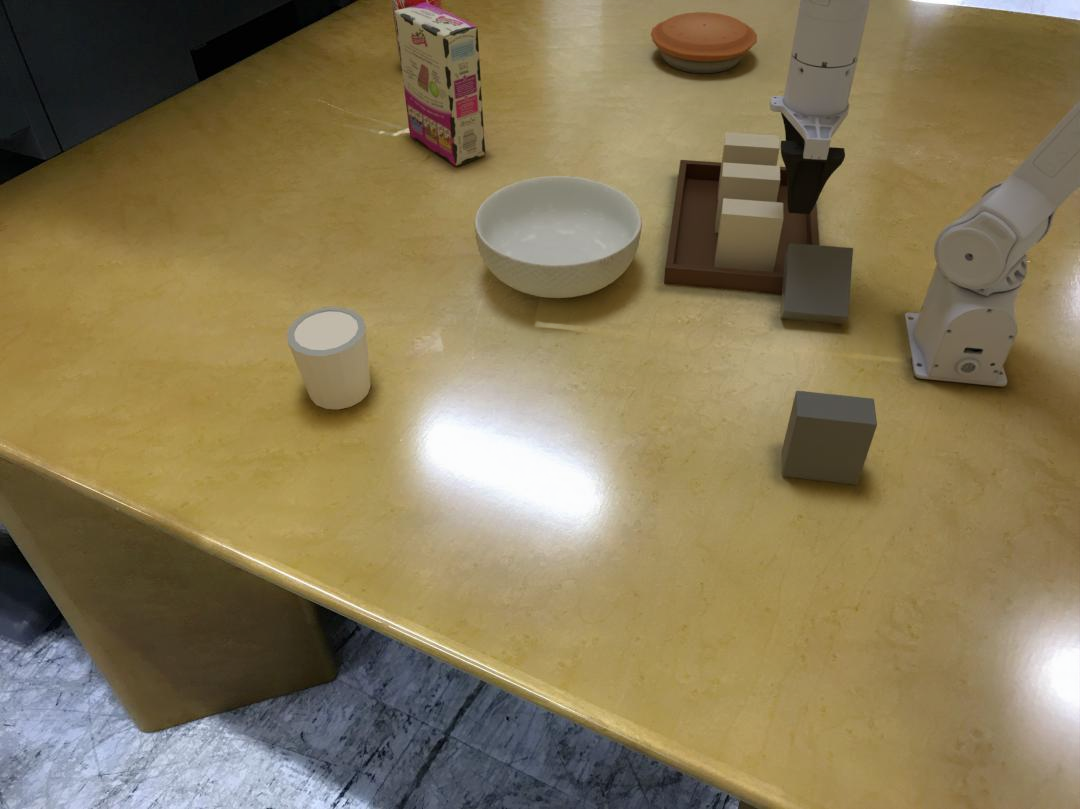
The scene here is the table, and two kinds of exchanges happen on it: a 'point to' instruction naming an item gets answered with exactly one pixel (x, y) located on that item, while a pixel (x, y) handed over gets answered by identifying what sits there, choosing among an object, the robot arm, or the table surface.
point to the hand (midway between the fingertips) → (797, 191)
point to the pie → (703, 41)
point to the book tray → (698, 239)
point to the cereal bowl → (558, 235)
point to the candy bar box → (442, 81)
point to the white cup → (332, 356)
